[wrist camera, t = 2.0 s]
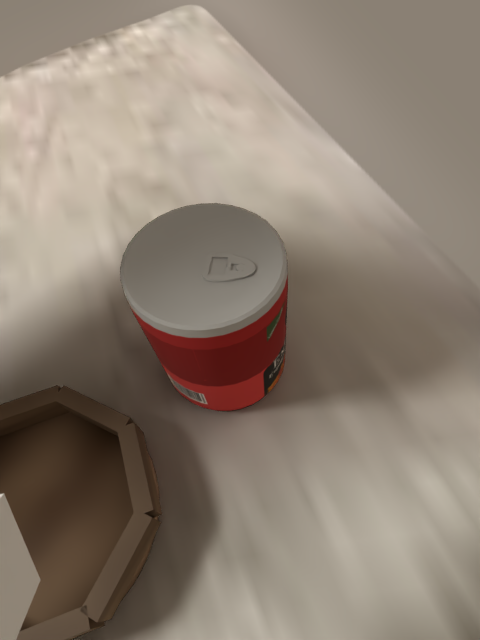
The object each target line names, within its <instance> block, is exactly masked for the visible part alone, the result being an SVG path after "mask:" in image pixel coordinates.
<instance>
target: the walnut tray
mask: <svg viewBox="0 0 480 640" xmlns="http://www.w3.org/2000/svg"><path fill="white" fill-rule="evenodd" d="M3 493H4V495H5V497H6V499H7V502H8V504H9V506H10V509H11V511H12V514H13V516H14V518H15V521H16V523H17V525H18V528H19V530H20V532H21V535H22V537H23V540H24V542H25V544H26V547H27V549H28V551H29V554H30V556H31V558H32V561H33V563H34V566H35V568H36V570H37V573H38V575H39V577H40V582H39V585H38V587H37V590H36V592H35V595H34V597H33V600H32V602H31V604H30V607H29V609H28V612H27V614H26V617H25V619H24V622H23V624H22V627H21V629H20V631H19V634H18V636H17V639H16V640H71V639H73V638H75V637H78V636H80V635H83V634H85V633H88V632H90V631H92V630H95V629H97V628H100V627H102V626H105V624H104V621H106V620H110V619H112V617H113V615H114V613H115V611H116V609H117V607H118V605H119V603H120V602H121V600H122V599H123V598H124V597H125V595H126V594H127V593H128V591H129V590H130V589H131V587H132V586H133V584H134V583H135V581H136V579H137V578H138V576H139V574H140V572H141V571H142V569H143V567H144V564H145V562H146V560H147V558H148V555H149V553H150V550H151V547H152V544H153V541H154V538H155V533H156V531H157V530H158V528H159V526H160V524H161V522H160V521H158V516H160V515H162V511H161V507H160V503H159V487H158V482H157V476H156V472H155V469H154V466H153V462H152V460H151V458H150V456H149V454H148V451H147V447H146V442H145V438H144V434H143V432H142V431H141V430H140V429H139V427H138V426H137V425H136V424H135V422H134V421H133V420H132V419H131V418H130V417H128V416H126V415H124V414H122V413H119V412H117V411H115V410H113V409H111V408H109V407H107V406H105V405H103V404H101V403H99V402H97V401H95V400H93V399H91V398H88V397H86V396H84V395H82V394H80V393H78V392H76V391H74V390H72V389H70V388H68V387H66V386H64V385H63V387H62V388H60V387H59V386H58V385H57V386H54V387H51V388H48V389H45V390H42V391H39V392H36V393H33V394H30V395H27V396H24V397H21V398H18V399H16V400H13V401H10V402H7V403H4V404H1V405H0V494H3Z"/></svg>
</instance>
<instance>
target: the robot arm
mask: <svg viewBox="0 0 480 640" xmlns="http://www.w3.org/2000/svg"><path fill="white" fill-rule="evenodd" d="M39 582H40V577H39V575H38V573H37V570H36V568H35V566H34V563H33V561H32V558H31V556H30V554H29V551H28V549H27V547H26V544H25V542H24V540H23V537H22V535H21V532H20V530H19V528H18V525H17V523H16V521H15V518H14V516H13V514H12V511H11V509H10V506H9V504H8V502H7V499H6V497H5V495H4V493H3V494H0V640H16V639H17V636H18V634H19V631H20V629H21V627H22V624H23V622H24V619H25V617H26V614H27V612H28V609H29V607H30V604H31V602H32V600H33V597H34V595H35V592H36V590H37V587H38V585H39Z"/></svg>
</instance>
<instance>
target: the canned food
mask: <svg viewBox="0 0 480 640" xmlns="http://www.w3.org/2000/svg"><path fill="white" fill-rule="evenodd" d="M120 278H121V283H122V287H123V290H124V293H125V296H126V300H127V301H128V303H129V305H130V307H131V309H132V312H133V314H134V315H135V317H136V319H137V321H138V323H139V324H140V326H141V328H142V330H143V332H144V333H145V335H146V337H147V339H148V341H149V342H150V344H151V346H152V348H153V350H154V351H155V353H156V355H157V357H158V359H159V360H160V362H161V364H162V366H163V368H164V369H165V371H166V373H167V375H168V377H169V378H170V380H171V382H172V384H173V385H174V387H175V389H176V390H177V391H178V392H179V393H180V394H181V395H182V396H183V397H185V398H186V399H188V400H189V401H190V402H192V403H194V404H196V405H199V406H201V407H204V408H207V409H212V410H217V411H231V410H238V409H242V408H245V407H247V406H250V405H252V404H254V403H256V402H257V401H259V400H261V399H262V398H263V397H264V396H265V395H266V394H267V393H269V392H270V391H271V390H272V388H273V387H274V386H275V384H276V383H277V382H278V380H279V378H280V376H281V374H282V371H283V367H284V362H285V343H286V319H287V294H288V263H287V258H286V251H285V248H284V244H283V241H282V240H281V238H280V236H279V235H278V233H277V231H276V230H275V229H274V228H273V227H272V226H271V225H270V224H269V223H268V222H267V221H266V220H264V219H263V218H261V217H260V216H258V215H257V214H255V213H253V212H250V211H248V210H246V209H243V208H240V207H236V206H232V205H226V204H218V203H208V204H196V205H189V206H185V207H181V208H178V209H175V210H172V211H169V212H167V213H165V214H163V215H161V216H159V217H157V218H156V219H154V220H153V221H151V222H149V223H148V224H147V225H145V226H144V227H143V228H142V229H141V230H140V231H139V232H138V233H137V234H136V235H135V236H134V238H133V239H132V240H131V242H130V243H129V244H128V246H127V248H126V250H125V252H124V255H123V258H122V262H121V267H120Z"/></svg>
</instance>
